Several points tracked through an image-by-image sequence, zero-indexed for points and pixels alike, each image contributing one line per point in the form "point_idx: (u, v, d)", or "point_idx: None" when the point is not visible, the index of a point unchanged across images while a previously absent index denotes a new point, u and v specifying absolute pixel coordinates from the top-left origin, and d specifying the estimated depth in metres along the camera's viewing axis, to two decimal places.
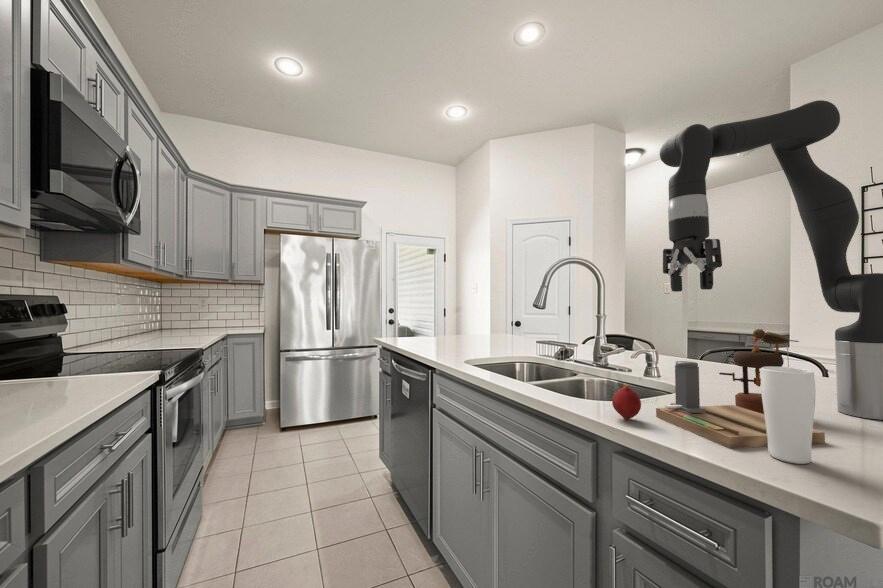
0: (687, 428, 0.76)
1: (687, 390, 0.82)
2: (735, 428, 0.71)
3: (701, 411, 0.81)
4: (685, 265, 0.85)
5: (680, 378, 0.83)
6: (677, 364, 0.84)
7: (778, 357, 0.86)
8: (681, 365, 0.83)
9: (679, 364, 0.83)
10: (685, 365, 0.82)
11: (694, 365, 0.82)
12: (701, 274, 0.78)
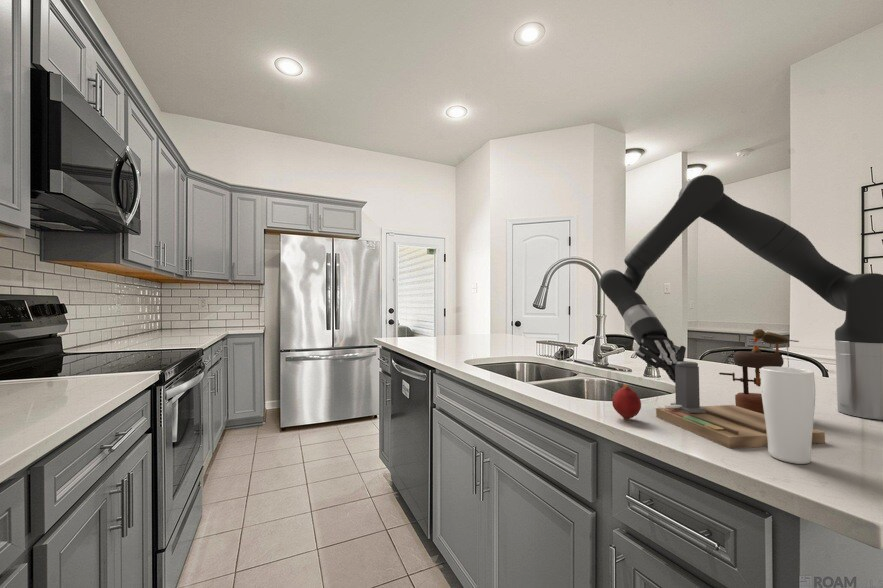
0: (687, 428, 0.76)
1: (687, 390, 0.82)
2: (735, 428, 0.71)
3: (701, 411, 0.81)
4: (668, 354, 0.90)
5: (680, 378, 0.83)
6: (677, 364, 0.84)
7: (778, 357, 0.86)
8: (681, 365, 0.83)
9: (679, 364, 0.83)
10: (685, 365, 0.82)
11: (694, 365, 0.82)
12: None
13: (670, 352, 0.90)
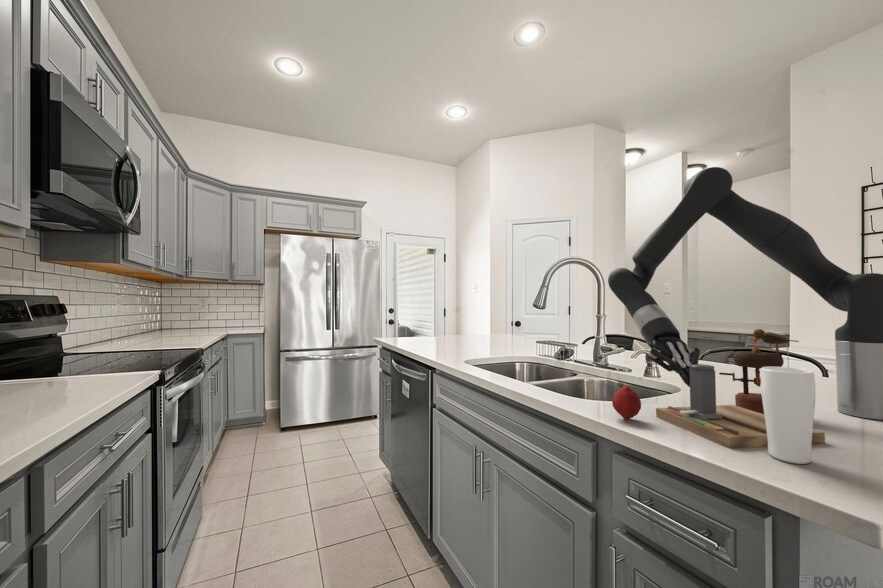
0: (687, 428, 0.76)
1: (703, 394, 0.77)
2: (735, 428, 0.71)
3: (718, 417, 0.77)
4: (682, 356, 0.85)
5: (695, 382, 0.79)
6: (692, 367, 0.79)
7: (778, 357, 0.86)
8: (696, 368, 0.78)
9: (694, 367, 0.79)
10: (701, 368, 0.78)
11: (710, 368, 0.77)
12: None
13: (684, 354, 0.85)
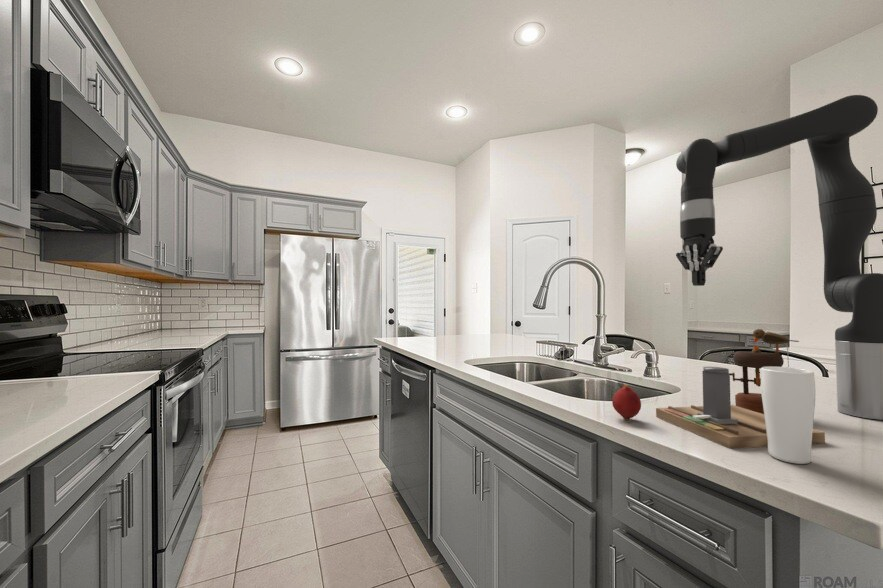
0: (687, 428, 0.76)
1: (717, 398, 0.74)
2: (735, 428, 0.71)
3: (733, 422, 0.73)
4: None
5: (708, 385, 0.76)
6: (705, 370, 0.76)
7: (778, 357, 0.86)
8: (710, 371, 0.75)
9: (708, 370, 0.75)
10: (715, 371, 0.74)
11: (725, 371, 0.74)
12: (696, 273, 0.95)
13: None
